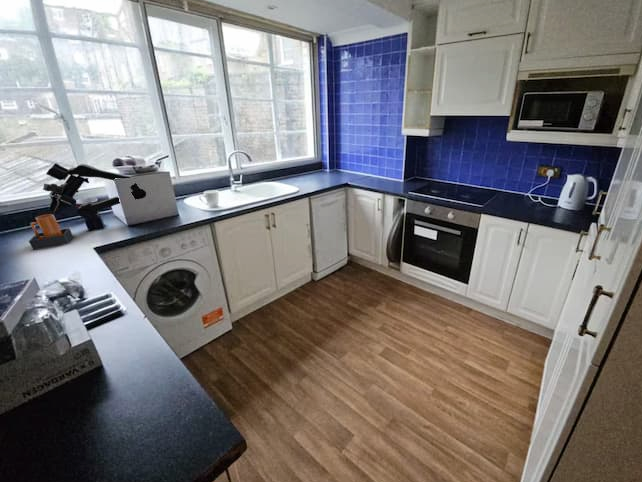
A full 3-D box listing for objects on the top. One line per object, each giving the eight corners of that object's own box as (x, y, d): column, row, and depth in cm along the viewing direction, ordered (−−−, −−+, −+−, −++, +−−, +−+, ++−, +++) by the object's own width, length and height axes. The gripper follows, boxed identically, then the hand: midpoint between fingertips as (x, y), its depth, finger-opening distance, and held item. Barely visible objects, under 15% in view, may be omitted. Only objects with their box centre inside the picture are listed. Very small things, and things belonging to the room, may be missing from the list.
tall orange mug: (66, 237, 149) (55, 213, 143) (63, 241, 144) (51, 216, 139) (42, 241, 144) (30, 217, 139) (38, 246, 140) (25, 220, 134)
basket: (73, 236, 152) (69, 228, 150) (67, 243, 143) (63, 235, 141) (40, 241, 146) (36, 233, 144) (33, 250, 137) (28, 241, 135)
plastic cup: (91, 222, 171) (82, 202, 166) (76, 221, 173) (67, 202, 168) (109, 216, 180) (101, 197, 176) (95, 215, 183) (87, 197, 178)
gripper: (46, 174, 148) (26, 201, 144) (57, 178, 139) (35, 207, 135) (73, 187, 157) (54, 212, 153) (85, 191, 148) (65, 218, 144)
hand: (52, 212), depth 146 cm, fingers open, 9 cm apart
